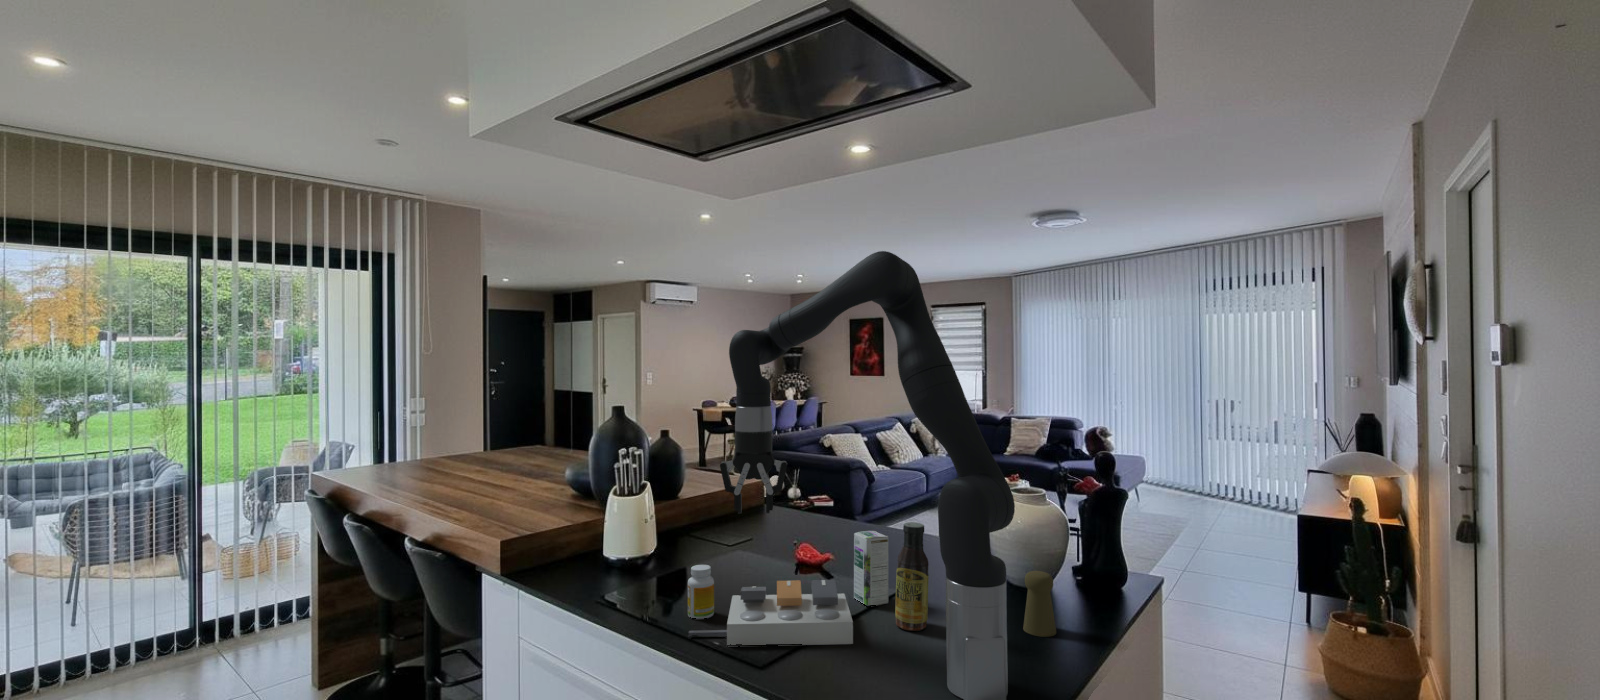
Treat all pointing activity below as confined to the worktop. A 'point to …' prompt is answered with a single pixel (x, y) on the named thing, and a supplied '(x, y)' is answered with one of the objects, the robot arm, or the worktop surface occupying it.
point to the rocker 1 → (753, 594)
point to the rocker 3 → (824, 592)
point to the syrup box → (871, 568)
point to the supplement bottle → (700, 592)
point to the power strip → (786, 623)
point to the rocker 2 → (789, 593)
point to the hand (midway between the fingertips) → (753, 512)
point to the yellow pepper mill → (1039, 605)
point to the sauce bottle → (912, 580)
